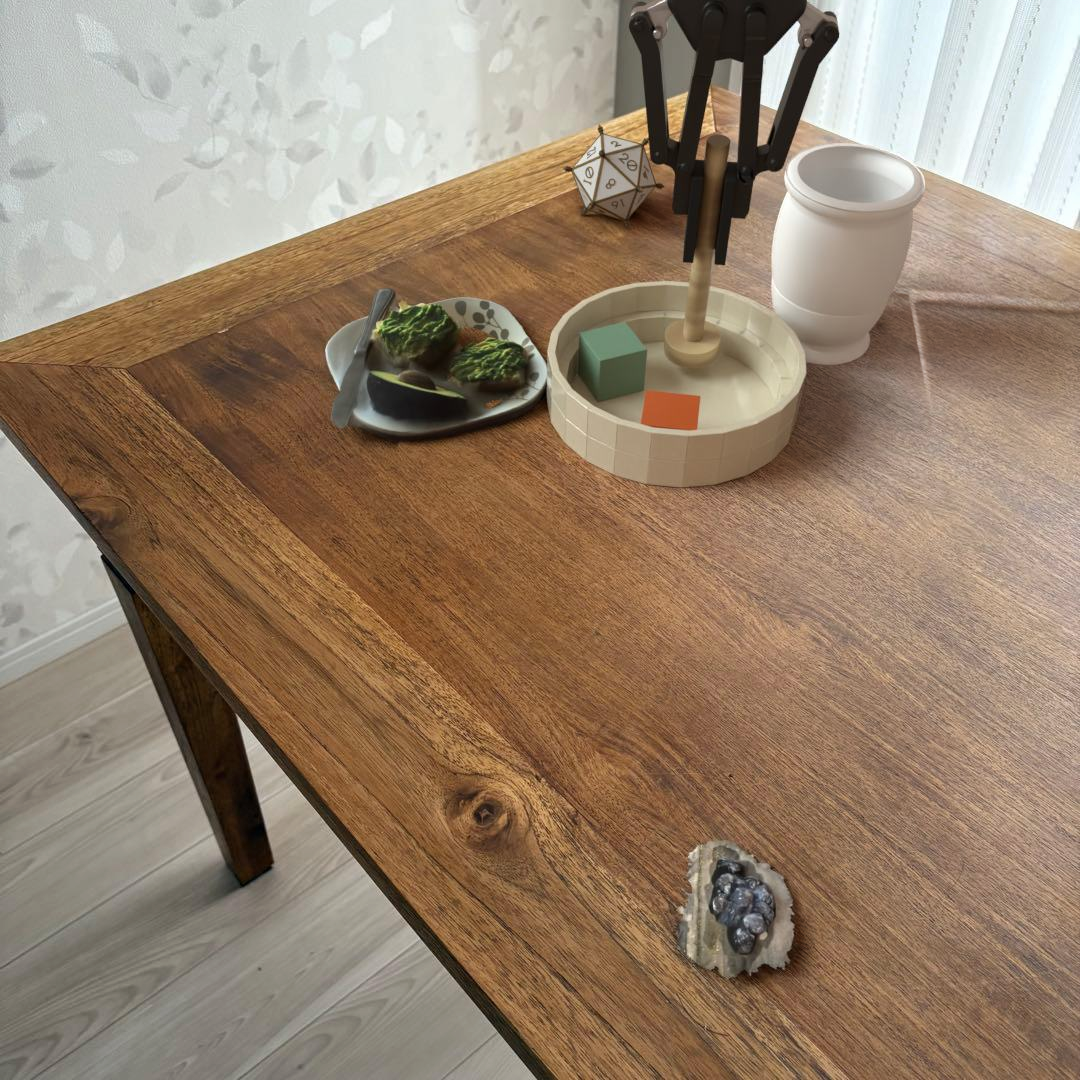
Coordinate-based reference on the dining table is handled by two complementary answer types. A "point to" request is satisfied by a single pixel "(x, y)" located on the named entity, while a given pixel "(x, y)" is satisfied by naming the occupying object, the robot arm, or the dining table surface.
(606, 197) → the game die
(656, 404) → the rust block
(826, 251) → the jar
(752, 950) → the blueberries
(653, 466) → the bowl
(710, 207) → the stand
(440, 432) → the salad plate
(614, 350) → the sage block
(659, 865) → the dining table surface
